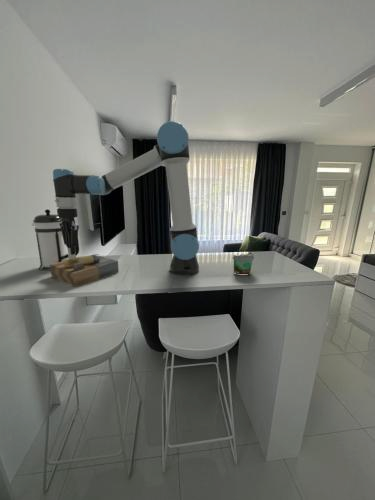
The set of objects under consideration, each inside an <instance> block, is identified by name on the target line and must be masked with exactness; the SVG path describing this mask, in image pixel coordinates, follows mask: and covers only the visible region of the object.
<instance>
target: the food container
mask: <svg viewBox="0 0 375 500" xmlns="http://www.w3.org/2000/svg"><path fill="white" fill-rule="evenodd" d="M254 256H255V255H254V254H253V253H252V252H251V251H249V253H247V254H239V255H235V254H233V256H232V260H233V274H234V273H236V274H249V273H250V274H251V271H252V266H253V265H252V264H253V261H254V259H255V257H254ZM250 274H249V275H250Z"/></svg>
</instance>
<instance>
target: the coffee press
mask: <svg viewBox="0 0 375 500" xmlns="http://www.w3.org/2000/svg"><path fill="white" fill-rule="evenodd" d="M44 213H45V214H39V215H36V216H35V217H34V219H33V220H32V221H33V222H31V226H33V227H34V232H35V236H36V243H37V248H38V256H39V263H40V265H39V267H38V270H39V271H44V269H46V268H50V264H54V263H58V262H63V261H64V260H65V259H69V258H68V251H67V246H66V245H65V244H64V240H63V236H62V231H61V227H60V225H59V224H60V223H62V218H59V217H58V215H57V214H51V210H50V209H45V210H44ZM75 252H76V256H78V255H79V253H80V244H79V240H78V246H76V247H75Z"/></svg>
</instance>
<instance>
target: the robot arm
mask: <svg viewBox="0 0 375 500" xmlns="http://www.w3.org/2000/svg"><path fill="white" fill-rule="evenodd" d="M189 138H190V137H189V133H188V130H187V129H186V127H185V126H184V125H183V124H182V123H181V122H178V121H175V120H170V121H166V122H164V123H163V124H162V125H161V126H160V127H159V128H158V131H157V135H156V141H157V144H156V145H154V146H153V148H152V149H151V150H149V151H147V152H145V153H143V154H141V155H140V156H137V157H135V158H133V159H132V160H130V161H127V162H126V163H124V164H123V165H120V166H118V167H117V168H116V167H115V169H113V170H111V171H108V172H107V173H105V174H104V175H102V176H100V175H95V174H91V175H85V174H83V175H80V174H79V175H78V174H75V173H74V171H73V170H72V169H67V168H55V169H53V170H52V178H53V179H52V181H53V186H54V193H55V200H54V202H55V205H56V207H57V209H56V212H57V213H56V215H58V217H59V218H62V223H60V224H59V225H60V227H61V231H62V236H63V240H64V244H65V245H66V250H67V254H68V258H67V259H71V258H77V255H76V252H75V247H76V246H78V241H79V228H80V226H79V224H78V225H77V224H76V219H75V218H78V216H79V215H78V209H77V207H78V204H77V198H76V197H77V195H95V196H96V195H97V196H98V195H99V196H107V195H109V194H110V193H111V192H112V191H114V190H115V189H117V188H120V187H122V186H123V185H126V184H127V183H129V182H131V181H133V180H135V179H137V178H140V177H141V176H143V175H145V174H147V173H149V172H152V171H153V170H155V169H157V168H159V167H161V166H162V167H165V171H166V172H165V173H166V178H167V179H166V181H167V188H168V196H169V205H170V212H171V213H170V214H171V221H172V226H171V227H170V228H169V233H170V241H171V244H170V250H171V253H172V254H173V256H172V259H171V262H170V265H169V270H170V272H171V273H173V274H177V275H193V274H197V273H198V272H199V271H200V266H199V262H198V258H197V254H198V252H199V248H200V243H199V240H198V230H197V226H196V225H195V224H194V223H193V215H192V207H191V195H190V185H189V176H188V165H187V164H188V163H189V162H190V160H191V159H190V157H191V156H190V149H189Z"/></svg>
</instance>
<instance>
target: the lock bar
mask: <svg viewBox="0 0 375 500" xmlns="http://www.w3.org/2000/svg"><path fill="white" fill-rule="evenodd" d="M80 262H83V263H84V264H89V263H98V262H100V254H91V256H90V255H86V256H85V255H84V256H79V257H76V258H71V259H69V258H67V259H65V260H64V266H65V267H72V266H73V264H76V263H80Z"/></svg>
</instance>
